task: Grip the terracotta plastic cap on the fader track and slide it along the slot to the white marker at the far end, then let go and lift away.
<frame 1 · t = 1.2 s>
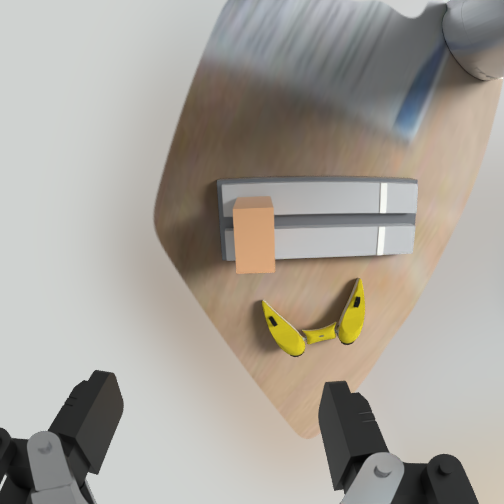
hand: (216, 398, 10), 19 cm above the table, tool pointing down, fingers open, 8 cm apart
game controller: (314, 310, 31), on the table
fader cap: (254, 229, 23), point 5 cm above the table, slide at 0.0 cm
fader track: (321, 214, 27), on the table
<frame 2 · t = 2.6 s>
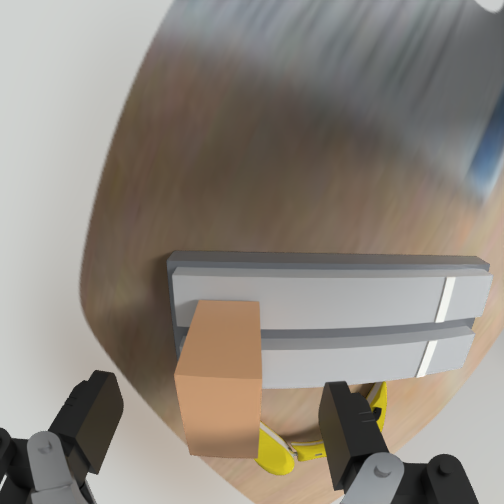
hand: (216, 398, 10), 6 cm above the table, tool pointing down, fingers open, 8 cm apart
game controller: (311, 412, 20), on the table
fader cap: (226, 369, 12), point 5 cm above the table, slide at 0.0 cm
fader track: (341, 313, 17), on the table
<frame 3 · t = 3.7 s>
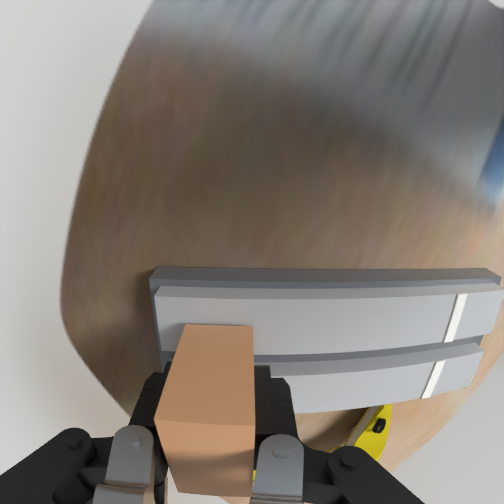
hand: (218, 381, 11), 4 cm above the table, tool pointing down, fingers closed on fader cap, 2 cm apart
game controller: (309, 424, 18), on the table
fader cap: (216, 401, 10), point 5 cm above the table, slide at 0.0 cm, touching gripper
fader track: (342, 333, 15), on the table
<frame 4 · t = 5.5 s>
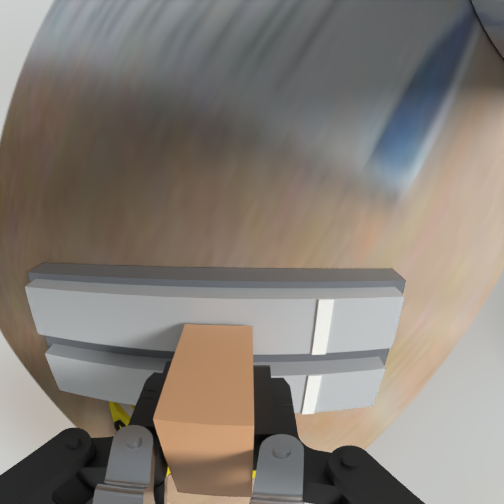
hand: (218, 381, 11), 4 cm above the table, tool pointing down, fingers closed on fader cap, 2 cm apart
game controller: (198, 416, 17), on the table
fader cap: (216, 401, 10), point 5 cm above the table, slide at 6.9 cm, touching gripper
fader track: (206, 333, 15), on the table
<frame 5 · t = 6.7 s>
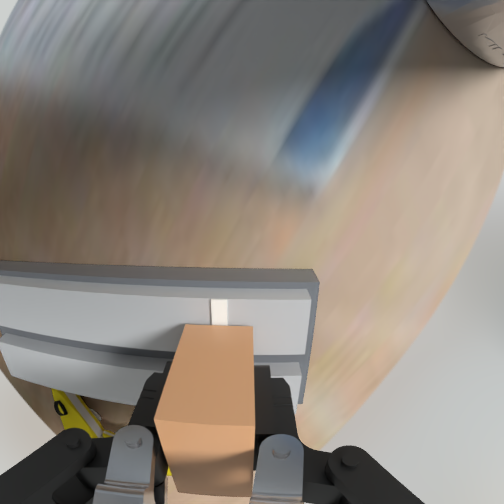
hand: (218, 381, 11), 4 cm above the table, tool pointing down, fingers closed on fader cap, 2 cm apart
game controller: (134, 406, 17), on the table, touching fader track
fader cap: (216, 401, 10), point 5 cm above the table, slide at 11.0 cm, touching gripper
fader track: (130, 328, 15), on the table
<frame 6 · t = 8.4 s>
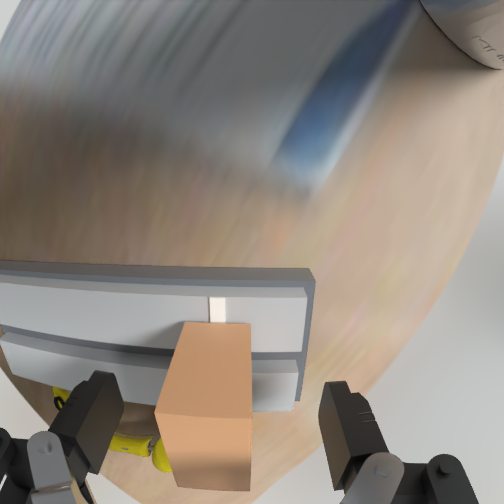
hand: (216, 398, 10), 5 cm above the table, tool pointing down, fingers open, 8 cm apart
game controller: (133, 403, 17), on the table
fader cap: (215, 397, 11), point 5 cm above the table, slide at 11.0 cm
fader track: (130, 327, 15), on the table
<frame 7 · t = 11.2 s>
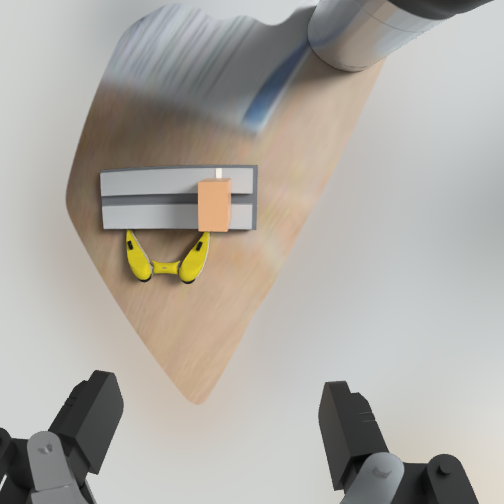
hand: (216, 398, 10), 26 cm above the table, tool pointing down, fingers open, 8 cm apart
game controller: (170, 249, 36), on the table
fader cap: (216, 201, 30), point 5 cm above the table, slide at 11.0 cm
fader track: (177, 196, 34), on the table
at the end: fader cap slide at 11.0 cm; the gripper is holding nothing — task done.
